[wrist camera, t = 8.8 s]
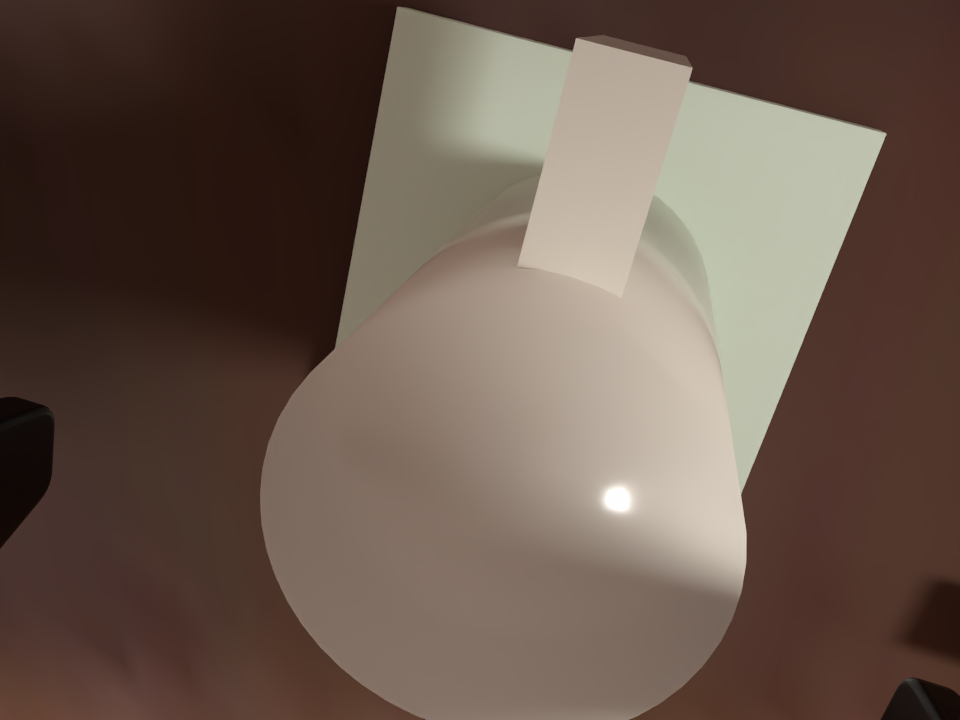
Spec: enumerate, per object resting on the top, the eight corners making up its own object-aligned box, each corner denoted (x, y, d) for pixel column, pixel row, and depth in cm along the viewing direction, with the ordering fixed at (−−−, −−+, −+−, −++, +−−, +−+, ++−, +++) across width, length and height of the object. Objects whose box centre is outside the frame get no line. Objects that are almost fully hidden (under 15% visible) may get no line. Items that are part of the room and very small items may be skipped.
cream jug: (662, 453, 19) (656, 797, 10) (423, 382, 19) (233, 655, 11) (795, 79, 16) (935, 136, 7) (508, 6, 16) (339, -16, 8)
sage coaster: (879, 130, 16) (886, 133, 16) (715, 538, 20) (717, 553, 19) (406, 7, 17) (397, 6, 16) (329, 420, 21) (320, 430, 20)
